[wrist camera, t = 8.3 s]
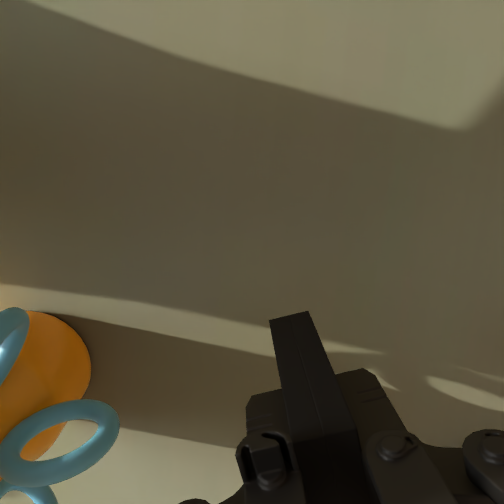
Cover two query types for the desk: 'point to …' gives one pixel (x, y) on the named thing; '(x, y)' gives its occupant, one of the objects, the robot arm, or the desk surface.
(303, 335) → the robot arm
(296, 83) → the desk surface
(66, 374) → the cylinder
